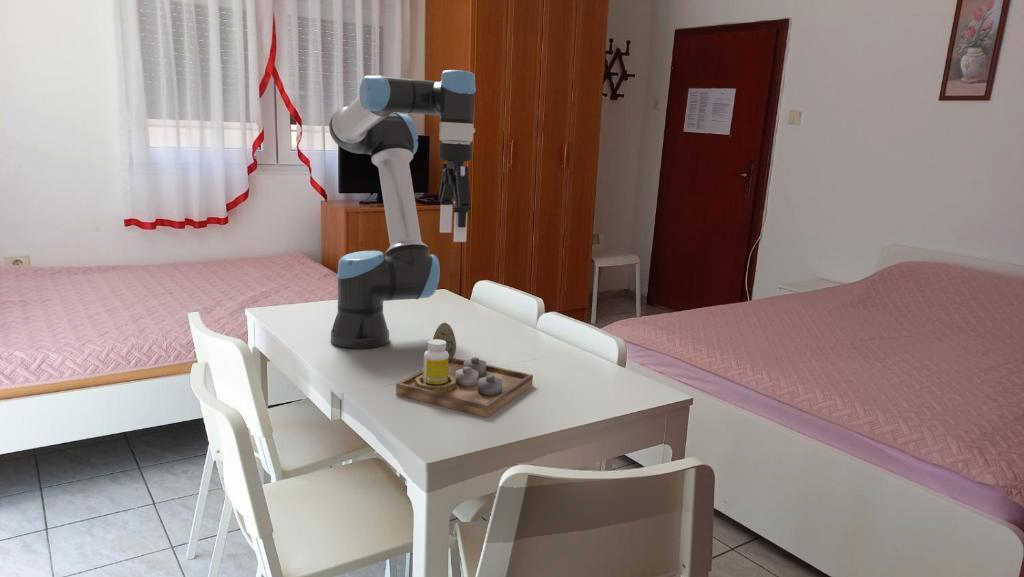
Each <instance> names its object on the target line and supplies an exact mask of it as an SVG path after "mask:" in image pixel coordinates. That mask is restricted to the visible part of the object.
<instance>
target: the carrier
mask: <svg viewBox="0 0 1024 577" xmlns="http://www.w3.org/2000/svg"><path fill="white" fill-rule="evenodd" d="M533 378H534V375H533V374H532V373H526V372H522V371H516V370H512V369H507V368H503V367H499V366H495V365H491V364H490V365H489V364H487V361H485V360H483V359H480V358H479V357H475V356H474V357H471V359H463V358H459V357H449V365H448V384H447V385H441V386H431V385H426V384H423V369H422V370H420V371H418V372H417V373H415V374H412V375H411V376H408V377H406V378H404V379H402V380H401V381H399V382H395V383H396V384H395V395H397V396H401V397H404V398H409V399H412V400H417V401H421V402H425V403H429V404H433V405H435V406H439V407H443V408H447V409H452V410H456V411H459V412H464V413H468V414H472V415H475V416H480V417H484V418H488V417H489V416H491V415H492V414H494V413H495V412H496V411H498V410H499V409H501V408H502V407H504V406H505V405H506V404H508V403H509V402H510V401H512V400H514V399H515V398H516V397H518V396H519V395H521V394H522V393H524V392H525V391H526V390H528V389H529V388H531V387H532V386H533V381H534V380H533Z"/></svg>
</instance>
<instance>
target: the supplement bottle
mask: <svg viewBox="0 0 1024 577" xmlns="http://www.w3.org/2000/svg"><path fill="white" fill-rule="evenodd" d="M445 349H446V341H444V340H439V339H433V338H432V339H429V340H428V341H427V350H425V351H424V353H423V369H422V370H423V384H426V385H431V386H441V385H447V384H448V365H449V354H448V352H447V351H445Z"/></svg>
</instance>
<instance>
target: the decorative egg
mask: <svg viewBox="0 0 1024 577" xmlns="http://www.w3.org/2000/svg"><path fill="white" fill-rule="evenodd" d="M433 339H439V340H444V341H446V349H445V351H447V352H448V354H449V357H453V358H455V355H456V352H457V341H456V340H457V339H456V336H455V333H454V329H453V328H452V327H451V325H450V324H449V323H447V322H443V323H441V324H439V325H438V326H437V329H436V330H435V332H434V335H433V337H432V340H433Z"/></svg>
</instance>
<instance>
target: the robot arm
mask: <svg viewBox="0 0 1024 577" xmlns="http://www.w3.org/2000/svg"><path fill="white" fill-rule="evenodd" d="M476 89H477V88H476V76H475V73H473V72H471V71H467V70H461V69H459V70H457V69H447V70H443V71H442V73H441V79H440V81H435V80H426V79H413V78H402V77H394V76H393V77H392V76H384V75H380V74H379V75H365V76H364V77H363V78H362V80H361V83H360V84H359V94H358V95H359V96H358V97H357V98H356V99H355V100H354V101H353V102H351V103H350V104H349V105H348V106H344V107H341V108H338V109H337V110H336V111H335V112H334V113H333V114H332V116H331V118H330V120H329V123H328V124H329V125H328V128H329V129H328V130H329V133H330V136H331V138H332V140H333V141H334V142H335V144H336V145H338V146H339V147H340V148H341V149H343V150H345V151H347V152H350V153H354V154H361V155H370V158H371V163H372V164H373V165H374V166H376V167H377V168H378V174H379V175H378V176H379V181H380V187H381V189H380V190H381V194H382V200H383V207H384V215H385V222H386V228H387V233H388V240H389V242H388V243H389V247H388V249H386V251H385V254H384V252H382V251H380V250H362V251H355V252H351V253H347V254H345V255H343V256H341V257H340V259H339V260H338V263H337V264H338V265H337V273H336V277H337V312H336V316H335V319H334V321H333V322H334V323H333V325H332V328H331V331H330V342H331V343H332V344H333V345H334V346H338V347H341V348H347V349H354V350H355V349H356V350H357V349H360V350H361V349H362V350H364V349H372V348H379V347H382V346H384V345H387V344H388V343H390V330H389V329H388V325H387V322H386V318H385V315H384V302H385V301H388V302H389V301H401V300H419V299H426V298H430V297H432V296H433V295H434V294H435V293H436V291H437V289H438V286H439V282H440V278H441V276H440V274H441V272H440V271H441V269H440V262H439V261H440V260H439V259H438V257H437V256H436V255H434V254H430V250H429V246H428V245H427V244H426V243H424V242H423V241H422V235H421V230H420V222H419V218H418V211H417V204H416V199H415V193H414V186H413V180H412V174H411V168H410V163H411V161H412V160H413V159H414V155H415V154H416V153H417V151H418V147H419V141H418V140H419V135H418V129H417V126H416V124H415V122H414V120H413V118H412V117H411V116H409V115H408V114H419V115H430V116H437V117H439V132H438V139H439V141H441V142H440V143H439V145H438V159H439V160H441V161H446V162H443V163H442V171H441V172H442V173H441V180H440V187H439V192H438V196H437V197H438V198H437V199H438V201H439V203H440V208H439V209H440V213H439V215H440V216H439V233H442V234H443V233H445V234H446V233H447V234H448V233H449V234H450V233H452V229H453V242H454V243H466V242H467V234H468V233H467V231H468V212H469V211H471V210H472V206H471V194H470V183H469V166H465V165H464V162H471V161H472V160H473V148H474V146H473V145H472V144H471V143H473V140H474V133H475V132H476V128H474V123H475V122H474V121H475V120H474V119H475V104H476V103H475V102H476V91H477V90H476ZM453 198H454V199H453ZM454 204H455V207H454V208H453V205H454ZM453 213H454V220H453ZM452 226H453V228H452Z"/></svg>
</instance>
